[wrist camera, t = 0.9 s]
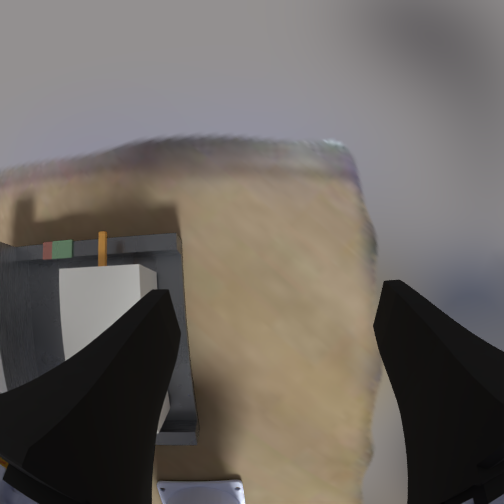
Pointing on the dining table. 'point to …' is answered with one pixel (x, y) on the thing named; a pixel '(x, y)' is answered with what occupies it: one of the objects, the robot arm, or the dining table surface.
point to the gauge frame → (49, 318)
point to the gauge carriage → (100, 301)
